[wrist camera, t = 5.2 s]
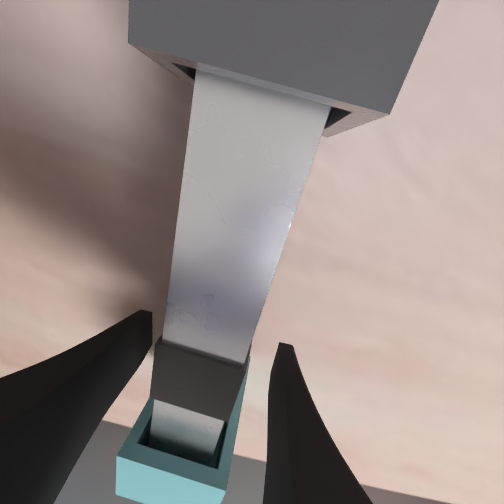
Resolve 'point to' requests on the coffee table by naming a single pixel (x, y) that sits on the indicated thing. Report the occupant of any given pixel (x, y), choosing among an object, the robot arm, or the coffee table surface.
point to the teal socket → (174, 465)
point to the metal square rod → (226, 251)
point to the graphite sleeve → (291, 47)
